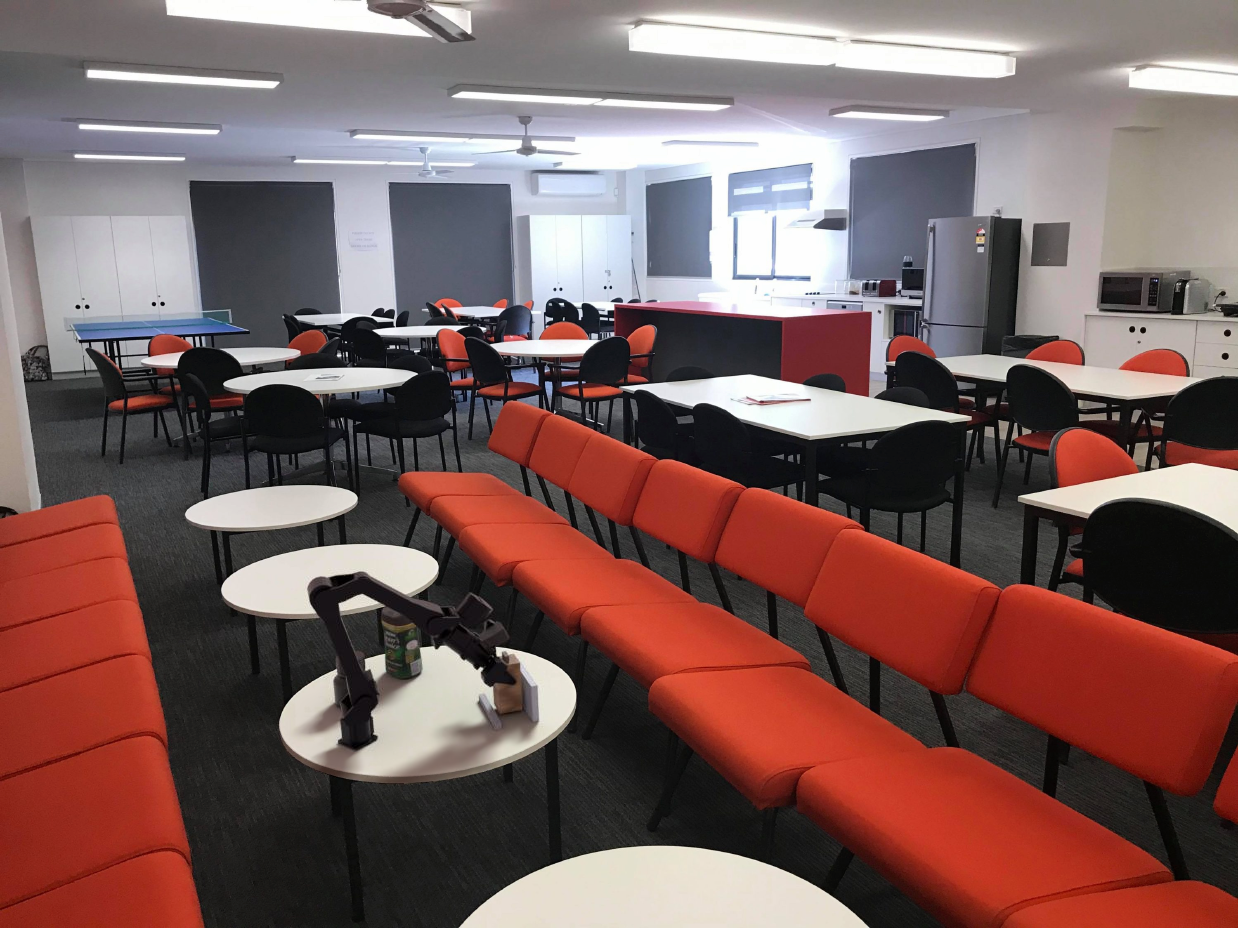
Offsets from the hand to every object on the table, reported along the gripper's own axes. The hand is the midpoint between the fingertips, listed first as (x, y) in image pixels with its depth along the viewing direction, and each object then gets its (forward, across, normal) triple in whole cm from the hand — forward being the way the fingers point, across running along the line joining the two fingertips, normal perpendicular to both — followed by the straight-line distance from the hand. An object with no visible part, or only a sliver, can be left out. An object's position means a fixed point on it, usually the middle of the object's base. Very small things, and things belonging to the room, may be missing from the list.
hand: (512, 678), depth 222 cm
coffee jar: (-9, +31, +21) cm, 39 cm away
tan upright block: (+4, 0, +6) cm, 7 cm away
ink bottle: (-19, +20, +31) cm, 41 cm away
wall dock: (+5, 0, +7) cm, 8 cm away
